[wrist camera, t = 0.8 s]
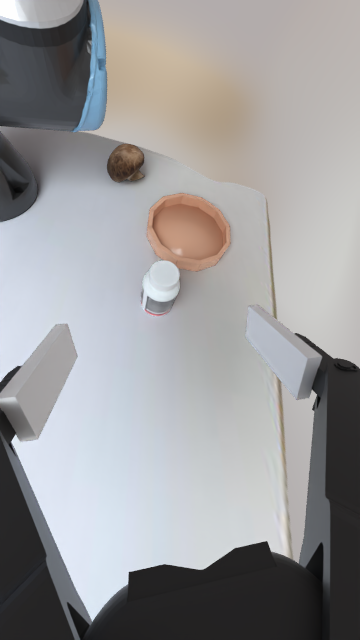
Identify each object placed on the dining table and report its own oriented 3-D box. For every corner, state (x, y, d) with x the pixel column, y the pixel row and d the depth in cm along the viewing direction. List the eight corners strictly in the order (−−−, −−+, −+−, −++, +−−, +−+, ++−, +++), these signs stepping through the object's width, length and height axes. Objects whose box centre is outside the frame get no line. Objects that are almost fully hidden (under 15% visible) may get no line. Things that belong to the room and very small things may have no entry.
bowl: (134, 212, 42) (134, 202, 39) (202, 197, 47) (206, 188, 45) (169, 280, 38) (171, 273, 36) (238, 257, 44) (244, 249, 42)
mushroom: (160, 170, 42) (142, 136, 37) (132, 199, 42) (111, 169, 37) (140, 164, 47) (122, 133, 42) (115, 191, 47) (94, 162, 42)
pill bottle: (177, 306, 37) (193, 278, 28) (153, 323, 35) (161, 299, 26) (158, 283, 38) (167, 248, 29) (133, 299, 36) (135, 267, 27)
